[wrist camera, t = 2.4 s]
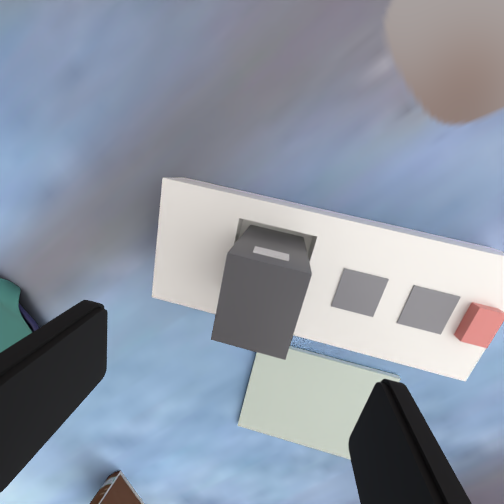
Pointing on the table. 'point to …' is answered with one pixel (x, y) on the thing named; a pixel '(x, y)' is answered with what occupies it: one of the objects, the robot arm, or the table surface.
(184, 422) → the table surface
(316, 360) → the mat
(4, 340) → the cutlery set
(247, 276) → the block
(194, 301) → the power strip
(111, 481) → the food container
